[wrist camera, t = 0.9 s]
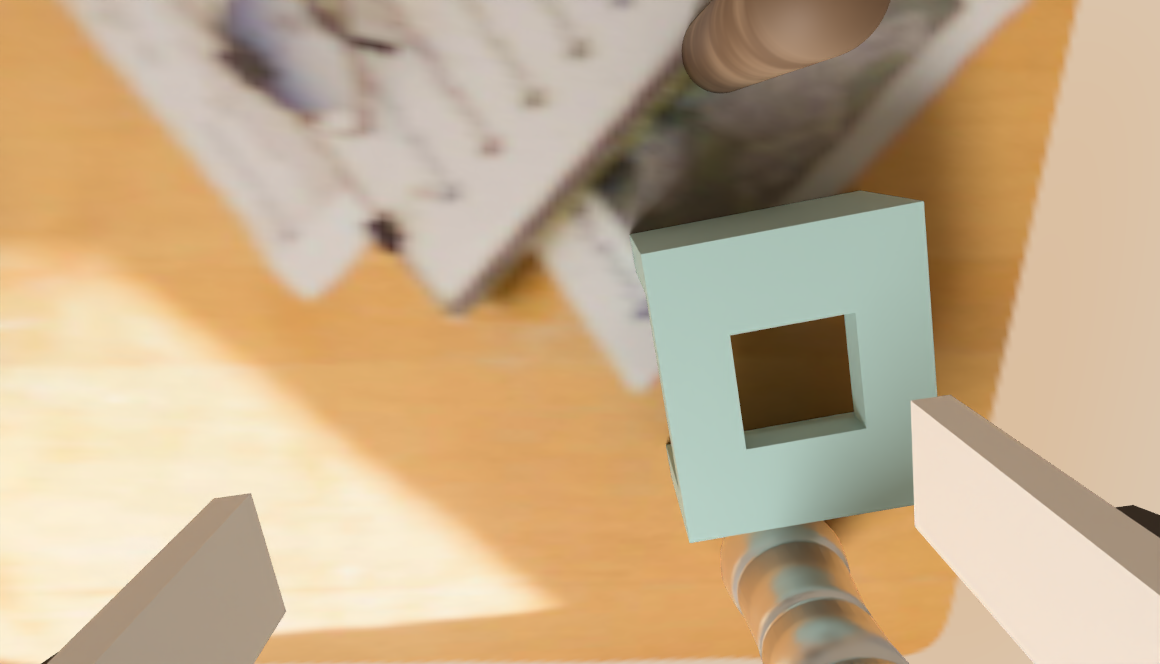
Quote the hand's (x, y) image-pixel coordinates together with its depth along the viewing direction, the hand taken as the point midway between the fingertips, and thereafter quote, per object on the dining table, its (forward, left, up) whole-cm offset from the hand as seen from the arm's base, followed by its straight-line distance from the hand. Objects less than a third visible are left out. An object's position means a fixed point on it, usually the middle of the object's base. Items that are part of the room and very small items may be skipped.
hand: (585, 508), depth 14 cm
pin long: (-10, +9, -25) cm, 28 cm away
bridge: (+5, +9, -25) cm, 27 cm away
